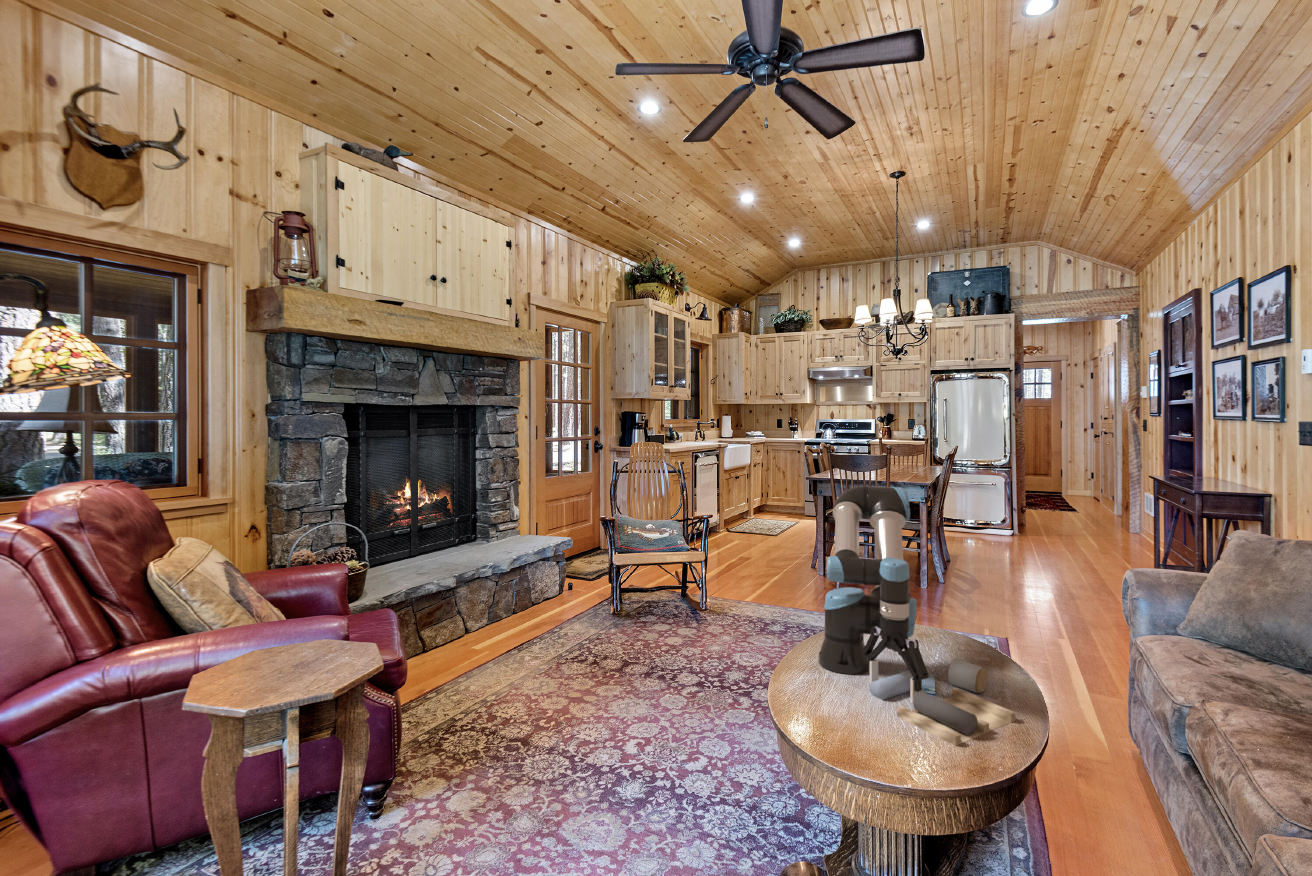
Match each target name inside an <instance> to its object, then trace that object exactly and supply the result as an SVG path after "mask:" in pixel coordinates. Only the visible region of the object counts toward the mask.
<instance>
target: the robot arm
mask: <svg viewBox="0 0 1312 876" xmlns="http://www.w3.org/2000/svg"><path fill="white" fill-rule="evenodd" d="M832 517H833V519H834V521H835V523H834V525H835V527H834V549H833V555H832V556H828V557H827V558H826V578H827V580H828V581H830V582H836V583H840V584H858V585H859V584H860V585H872V586H875V587H873V588H872V589H871V592H870V595H869V594H866V593H865V591H864V590H863V589H862V588H857V587H852V586H851V587H849V586H848V587H837V588H833V589H831V590H829V591H828V592H827V593H826V594H825V596H824V597H825V598H824V605H823V608H824V638H823V642H822V644H821V648H820V651H819V653H818V663H819V665H820V666H821V667H822V668H824V669H826V670H828V671H831V672H834V673H839V674H844V675H845V674H846V675H858V674H863V673H866V672H868V671H869V684H871V683H872V682H873V681H877V680H879V659H878V656H879V655H881V653H883V651H885V649H888V650H892V651H893V652H896V653H898V655H899V656H900V657H901V658H902V660H903V662H904V664H905V665H906V668H907V669H908V671H910V673H911V675H912V676H913V678H910V691H909V692H910V693H909V694H910V698H909V701H910V702H909V703H911V704H913V703H914V698H915V696H916V694H917V693H918V692H921V691H922V684H923V683H922V682H923V680H927V679H929V678H930V675H929V673H928V670H927V667H926V664H925V661H924V658H923V656H922V654H921V650H920V646H919V641H918V639H910V638H911V637H913V636H914V633H915V627H916V618H917V609H918V608H917V606H918V604H917V601H918V600H917V599H915V598H913V597H912V596H911V595H912V593H911V592H910V577H911V576H910V575H911V573H910V565H909V562H907V561H906V560H904V551H903V550H904V548H903V547H904V546H903V532H902V529H903V528H904V527H905V526H906V523H907V522H909V521H910V518H911V507H910V501H909V495H908V492H907V491H906V490H905V489H904V488H902V487H894V486H889V487H887V486H866V485H864V486H863V485H862V486H861V485H858V486H853V487H850V488H848V489H846V490H845V491H844V492H842V493H841V494H840V495H839V496H838V497H837V498H836V500H835V501H834V504H833V506H832ZM861 520H869V521H868V522H869V525H870V526H871V527H872V528H873V529H874V558H866V557H865V558H864V557H860V521H861ZM865 635H870V636H869V637H868V639H867V641H866V643H865V642H864V641H865V640H864V638H865V637H864V636H865ZM879 638H880V639H881V640H880V641H879V642H878V640H879ZM877 642H878V644H877Z"/></svg>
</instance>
